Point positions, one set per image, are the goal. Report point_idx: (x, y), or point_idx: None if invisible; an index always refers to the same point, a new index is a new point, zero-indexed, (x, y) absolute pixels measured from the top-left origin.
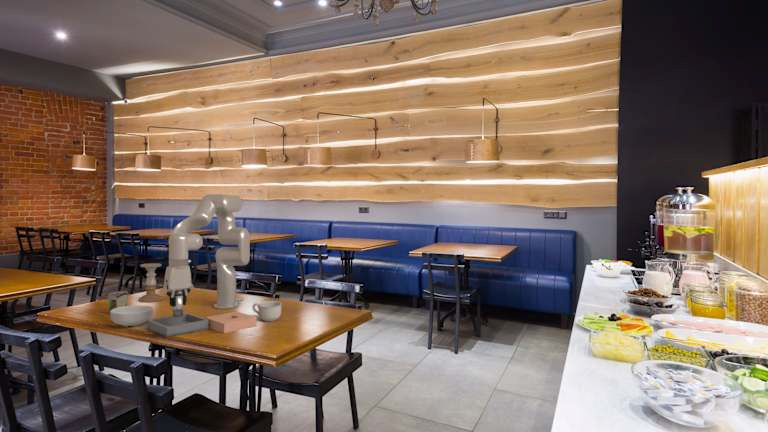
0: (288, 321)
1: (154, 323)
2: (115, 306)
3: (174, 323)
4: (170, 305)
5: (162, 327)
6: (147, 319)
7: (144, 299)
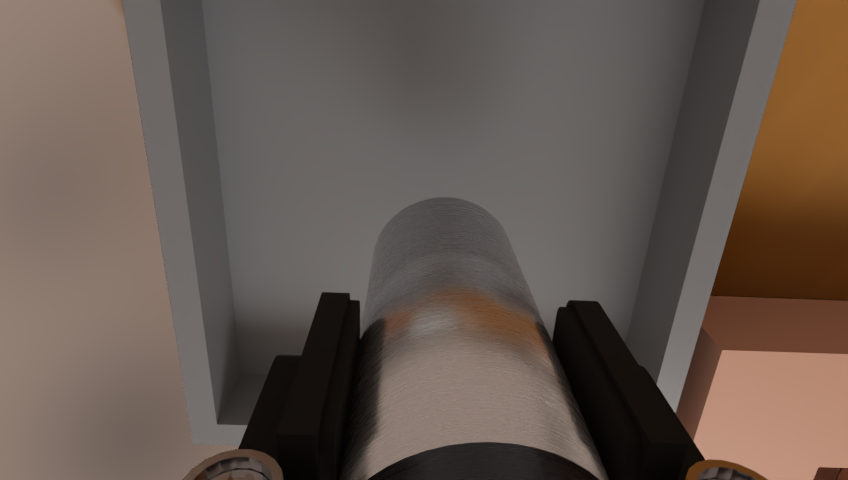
0: None
1: (148, 151)
2: None
3: (505, 8)
4: (323, 300)
5: (184, 349)
6: None
7: None
